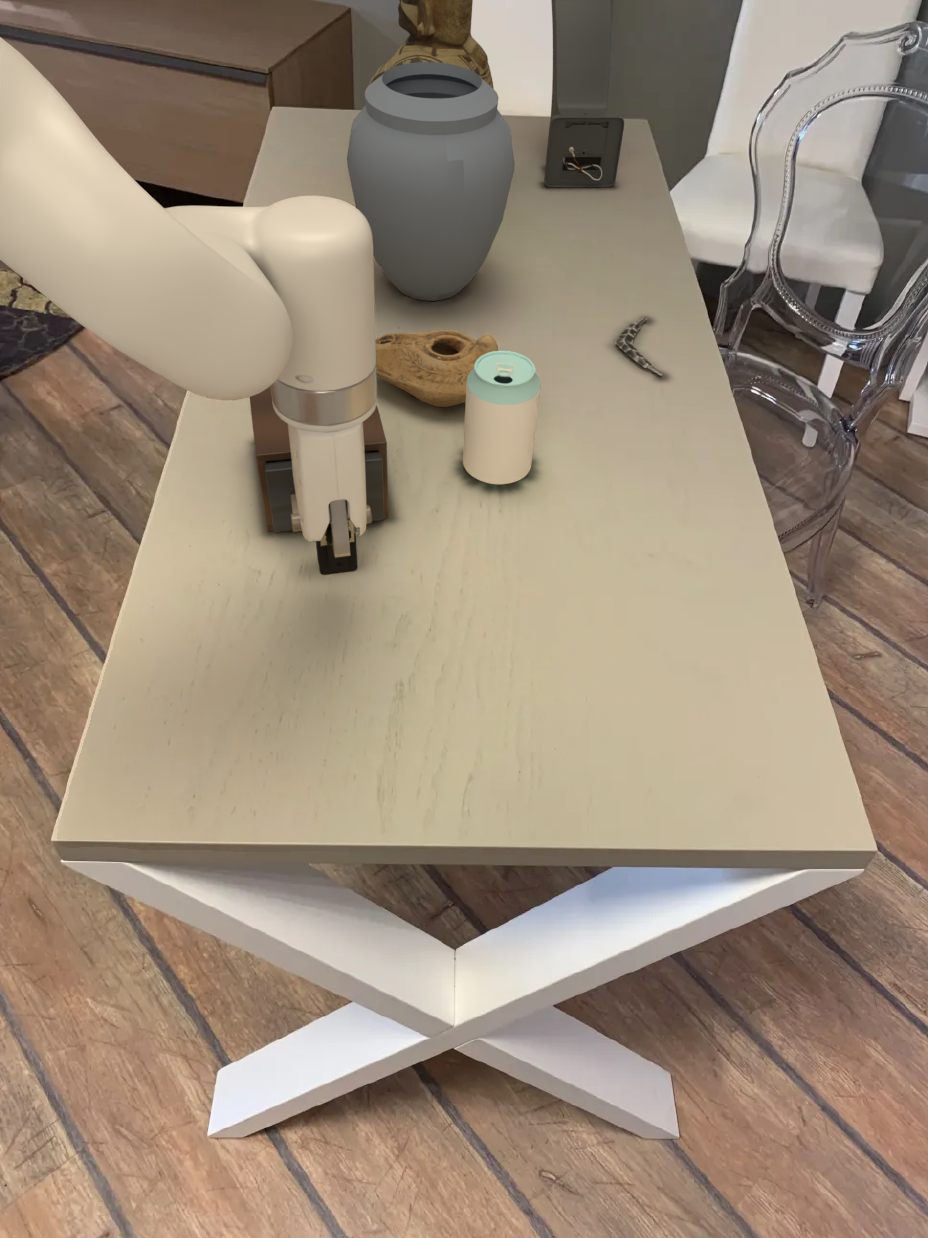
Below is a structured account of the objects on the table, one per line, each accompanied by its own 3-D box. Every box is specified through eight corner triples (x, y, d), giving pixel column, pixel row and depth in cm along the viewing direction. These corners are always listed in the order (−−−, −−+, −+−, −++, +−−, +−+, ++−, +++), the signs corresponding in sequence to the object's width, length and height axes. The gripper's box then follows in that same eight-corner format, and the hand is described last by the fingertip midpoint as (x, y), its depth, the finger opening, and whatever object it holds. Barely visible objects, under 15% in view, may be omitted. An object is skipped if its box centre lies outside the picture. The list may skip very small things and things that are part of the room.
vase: (410, 235, 130) (409, 37, 112) (532, 278, 124) (552, 75, 105) (322, 294, 119) (305, 84, 101) (451, 344, 112) (459, 129, 94)
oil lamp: (367, 363, 109) (365, 300, 103) (497, 366, 110) (501, 303, 104) (363, 421, 102) (360, 356, 96) (502, 423, 102) (507, 359, 96)
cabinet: (388, 517, 91) (386, 442, 85) (267, 531, 89) (255, 455, 83) (368, 433, 100) (365, 358, 93) (257, 444, 98) (246, 368, 92)
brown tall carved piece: (328, 178, 141) (312, -63, 119) (425, 140, 152) (427, -88, 130) (420, 221, 133) (422, -29, 111) (515, 177, 144) (534, -58, 122)
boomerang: (608, 311, 117) (647, 314, 117) (607, 317, 118) (646, 320, 118) (622, 370, 109) (664, 373, 109) (620, 375, 109) (663, 378, 109)
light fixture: (592, 141, 154) (616, -34, 136) (615, 188, 143) (644, 3, 125) (527, 141, 153) (542, -35, 135) (544, 188, 142) (564, 2, 124)
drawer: (391, 550, 87) (390, 490, 82) (278, 564, 85) (268, 503, 80) (365, 440, 98) (362, 380, 93) (264, 450, 96) (255, 389, 91)
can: (543, 476, 97) (557, 376, 88) (485, 497, 94) (492, 396, 85) (507, 438, 101) (516, 339, 92) (450, 458, 98) (453, 357, 89)
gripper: (261, 331, 71) (284, 514, 85) (280, 454, 61) (303, 637, 75) (360, 324, 73) (367, 505, 86) (394, 442, 63) (396, 625, 76)
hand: (337, 566), depth 81 cm, fingers closed
